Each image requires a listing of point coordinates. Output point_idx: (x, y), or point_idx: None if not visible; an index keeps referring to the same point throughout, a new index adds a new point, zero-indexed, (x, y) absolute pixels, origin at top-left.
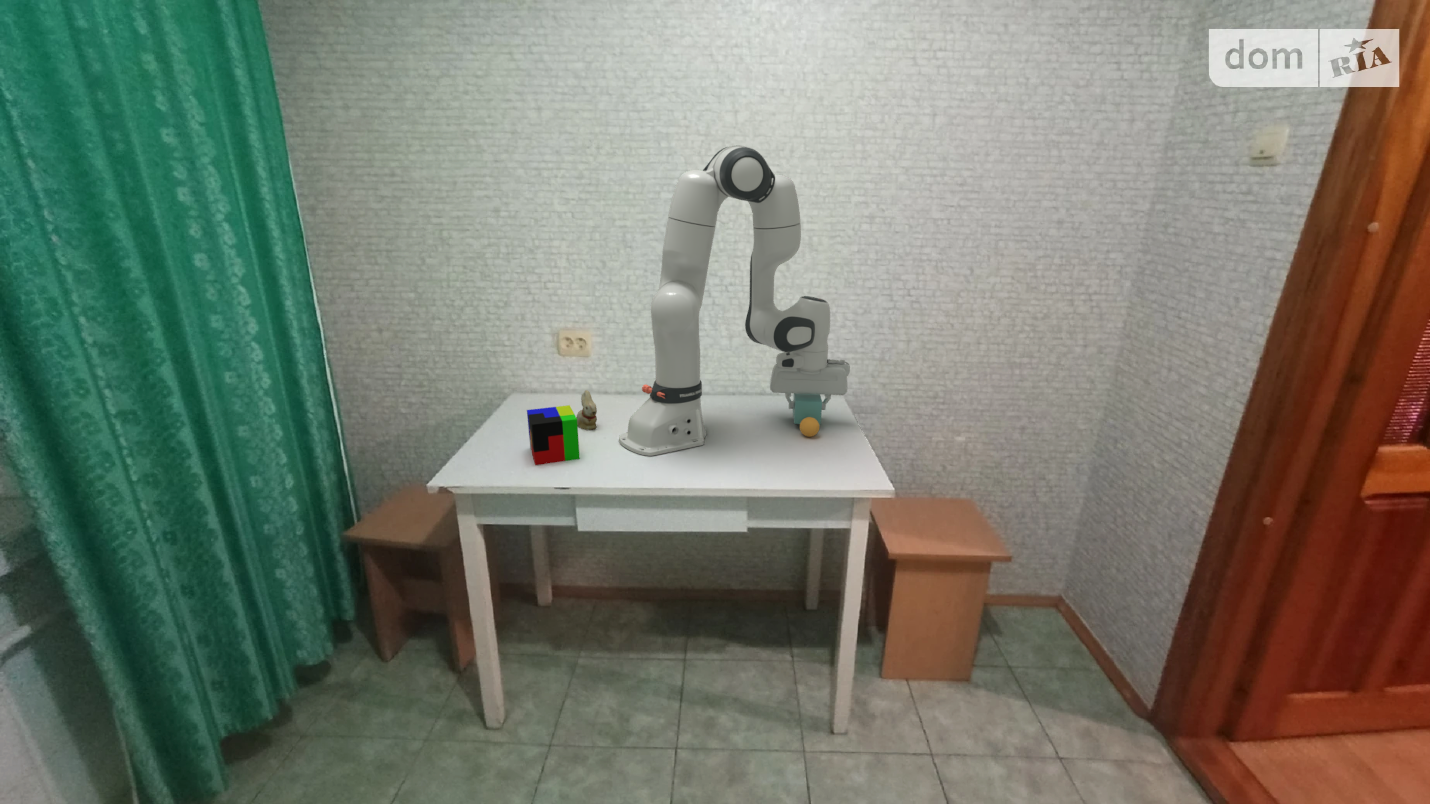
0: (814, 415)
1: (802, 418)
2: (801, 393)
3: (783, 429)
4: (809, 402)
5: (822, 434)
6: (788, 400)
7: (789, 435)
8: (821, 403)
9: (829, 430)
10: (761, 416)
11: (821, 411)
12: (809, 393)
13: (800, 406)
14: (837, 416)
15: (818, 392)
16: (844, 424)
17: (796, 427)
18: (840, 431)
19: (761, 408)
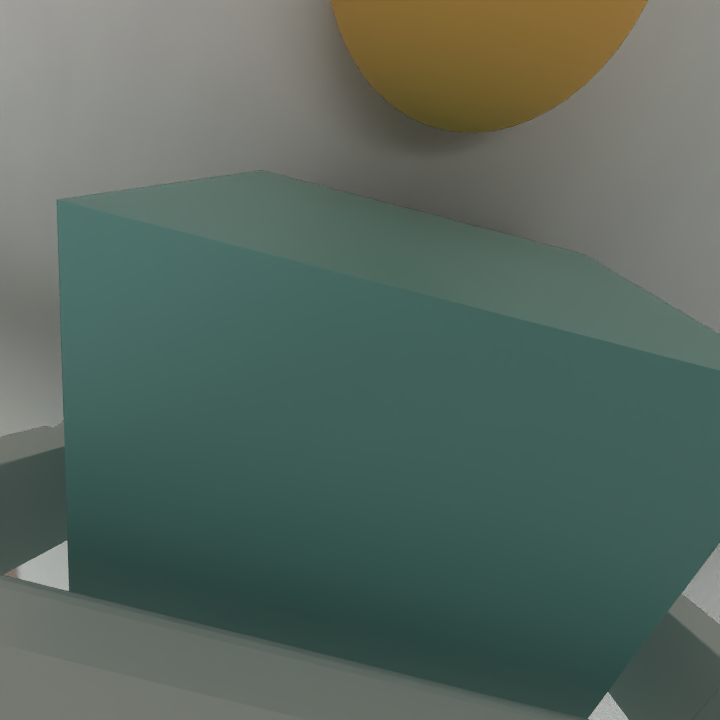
0: (324, 207)
1: (501, 245)
2: (543, 710)
3: (672, 265)
4: (430, 286)
5: (282, 40)
6: (702, 619)
7: (702, 60)
8: (99, 200)
9: (176, 162)
10: (706, 589)
11: (185, 183)
12: (319, 663)
13: (615, 314)
14: None
15: (28, 633)
16: (5, 303)
17: None
18: (61, 113)
19: (615, 711)
